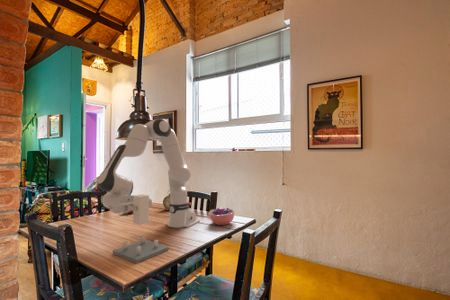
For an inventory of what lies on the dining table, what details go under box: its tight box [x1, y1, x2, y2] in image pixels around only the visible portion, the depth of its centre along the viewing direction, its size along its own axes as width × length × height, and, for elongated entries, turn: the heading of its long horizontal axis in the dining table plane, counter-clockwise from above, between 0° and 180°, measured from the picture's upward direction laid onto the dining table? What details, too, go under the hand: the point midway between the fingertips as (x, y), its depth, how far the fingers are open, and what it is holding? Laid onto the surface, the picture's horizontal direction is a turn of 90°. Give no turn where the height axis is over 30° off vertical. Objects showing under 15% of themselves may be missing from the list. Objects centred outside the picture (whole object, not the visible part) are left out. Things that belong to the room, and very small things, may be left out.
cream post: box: [132, 194, 150, 226], centre depth 119 cm, size 5×5×13 cm
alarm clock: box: [162, 189, 170, 211], centre depth 204 cm, size 11×5×16 cm, turn 105°
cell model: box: [208, 207, 235, 226], centre depth 166 cm, size 17×20×11 cm
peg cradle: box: [112, 235, 169, 264], centre depth 119 cm, size 18×18×5 cm
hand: (142, 207), depth 119 cm, fingers closed on cream post, 5 cm apart
